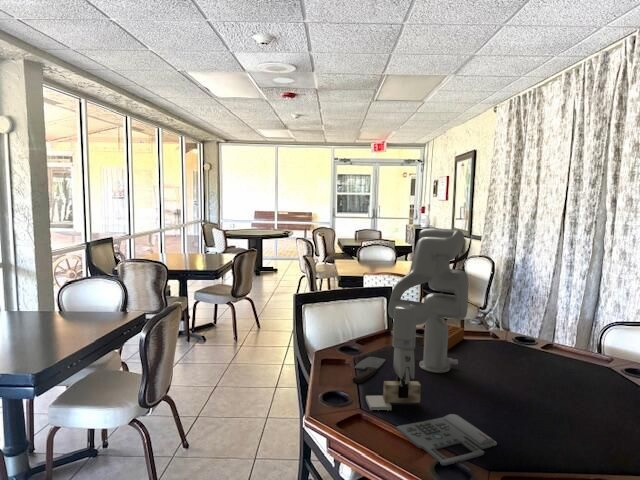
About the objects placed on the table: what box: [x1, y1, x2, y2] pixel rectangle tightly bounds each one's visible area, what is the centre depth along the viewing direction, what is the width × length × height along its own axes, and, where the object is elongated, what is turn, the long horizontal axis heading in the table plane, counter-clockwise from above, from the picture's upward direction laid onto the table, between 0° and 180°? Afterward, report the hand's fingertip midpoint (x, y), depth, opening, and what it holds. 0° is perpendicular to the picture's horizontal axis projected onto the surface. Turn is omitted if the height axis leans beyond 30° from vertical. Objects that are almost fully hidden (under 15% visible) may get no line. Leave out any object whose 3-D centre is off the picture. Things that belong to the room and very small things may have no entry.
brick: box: [422, 324, 465, 351], centre depth 211 cm, size 25×12×6 cm, turn 143°
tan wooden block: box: [382, 380, 422, 404], centre depth 141 cm, size 12×3×6 cm, turn 94°
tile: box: [365, 395, 393, 412], centre depth 140 cm, size 2×8×7 cm
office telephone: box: [396, 413, 498, 466], centre depth 121 cm, size 23×3×20 cm
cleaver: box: [352, 356, 386, 384], centre depth 172 cm, size 30×10×2 cm, turn 155°
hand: (401, 394), depth 141 cm, fingers closed on tan wooden block, 3 cm apart
